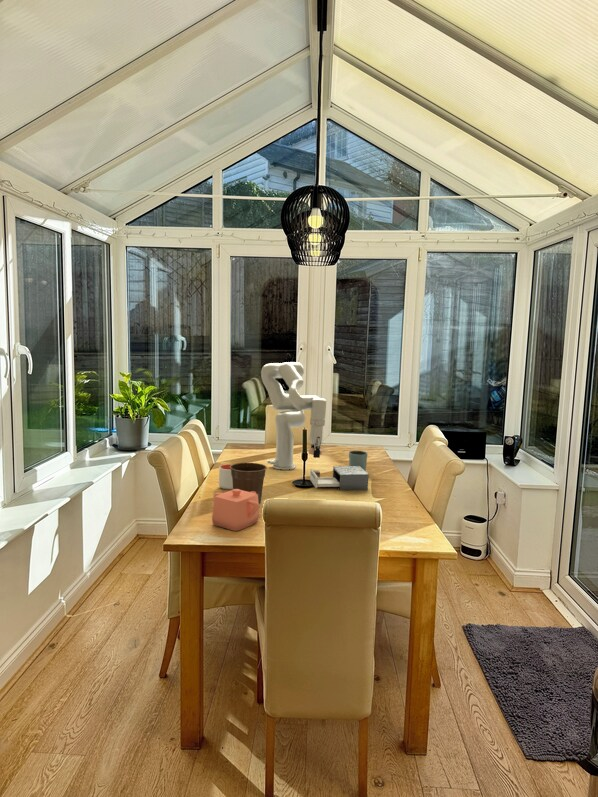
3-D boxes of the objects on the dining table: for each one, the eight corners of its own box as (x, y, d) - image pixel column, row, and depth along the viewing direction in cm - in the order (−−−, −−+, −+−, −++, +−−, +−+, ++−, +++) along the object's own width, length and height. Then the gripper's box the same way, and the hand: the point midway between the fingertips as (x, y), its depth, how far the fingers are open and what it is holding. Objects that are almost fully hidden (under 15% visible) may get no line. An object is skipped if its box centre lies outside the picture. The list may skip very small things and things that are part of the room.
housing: (340, 490, 265) (340, 474, 264) (332, 481, 280) (333, 466, 279) (367, 490, 267) (368, 474, 266) (358, 481, 283) (359, 466, 282)
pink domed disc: (309, 454, 279) (310, 450, 278) (307, 451, 286) (307, 447, 285) (323, 455, 280) (323, 451, 280) (320, 451, 287) (320, 447, 286)
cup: (223, 491, 257) (223, 470, 255) (216, 485, 265) (216, 465, 264) (242, 489, 261) (243, 468, 260) (235, 483, 270) (235, 463, 269)
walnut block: (312, 479, 281) (312, 472, 281) (310, 477, 285) (311, 470, 285) (319, 479, 282) (320, 472, 282) (318, 477, 286) (318, 470, 286)
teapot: (246, 536, 203) (247, 500, 201) (201, 523, 214) (202, 488, 212) (276, 521, 219) (277, 487, 218) (233, 510, 231) (234, 478, 229)
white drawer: (315, 487, 263) (315, 476, 262) (309, 479, 277) (310, 468, 277) (342, 487, 265) (343, 476, 264) (335, 479, 280) (335, 468, 279)
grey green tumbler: (365, 477, 291) (366, 455, 289) (346, 475, 293) (347, 453, 291) (367, 472, 301) (368, 451, 299) (348, 470, 303) (349, 449, 301)
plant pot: (241, 494, 253) (242, 460, 251) (272, 500, 246) (273, 465, 244) (221, 503, 238) (222, 467, 236) (253, 510, 231) (254, 473, 229)
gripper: (307, 418, 288) (304, 450, 291) (313, 425, 271) (311, 460, 274) (321, 418, 289) (318, 451, 292) (328, 426, 272) (325, 460, 275)
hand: (315, 455), depth 283 cm, fingers closed on pink domed disc, 7 cm apart
